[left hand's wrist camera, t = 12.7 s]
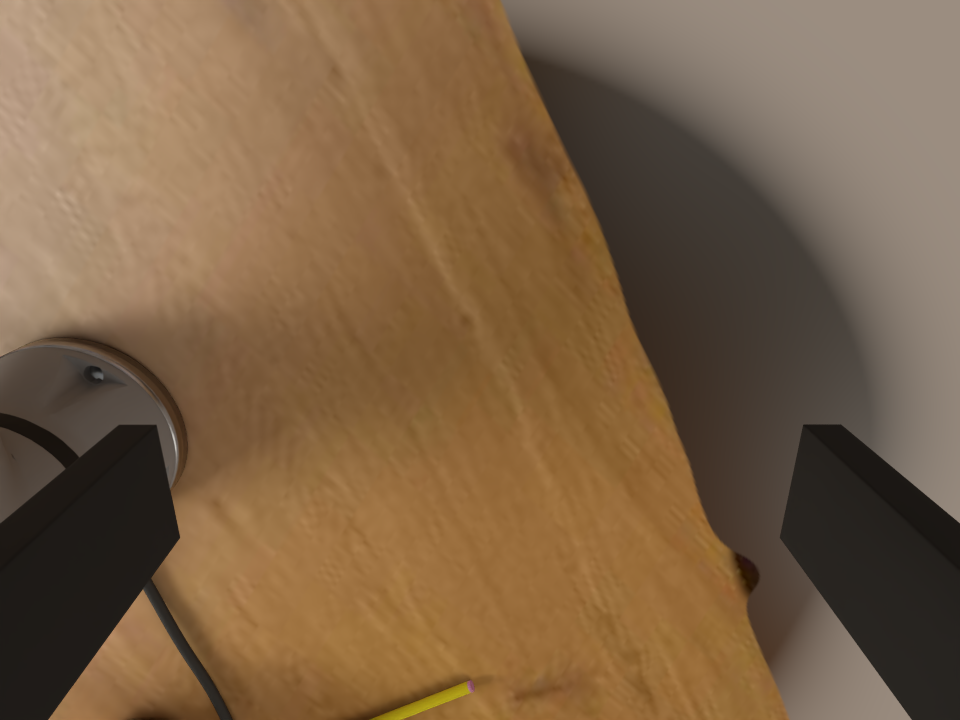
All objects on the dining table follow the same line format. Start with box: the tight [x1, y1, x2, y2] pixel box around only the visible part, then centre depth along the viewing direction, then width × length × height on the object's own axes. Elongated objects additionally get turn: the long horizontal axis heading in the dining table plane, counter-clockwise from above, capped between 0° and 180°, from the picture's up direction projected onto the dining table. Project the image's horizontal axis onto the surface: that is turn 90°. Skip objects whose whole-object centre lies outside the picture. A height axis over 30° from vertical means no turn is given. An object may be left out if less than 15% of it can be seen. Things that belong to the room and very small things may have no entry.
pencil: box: [370, 680, 474, 720], centre depth 57 cm, size 16×1×1 cm, turn 118°
